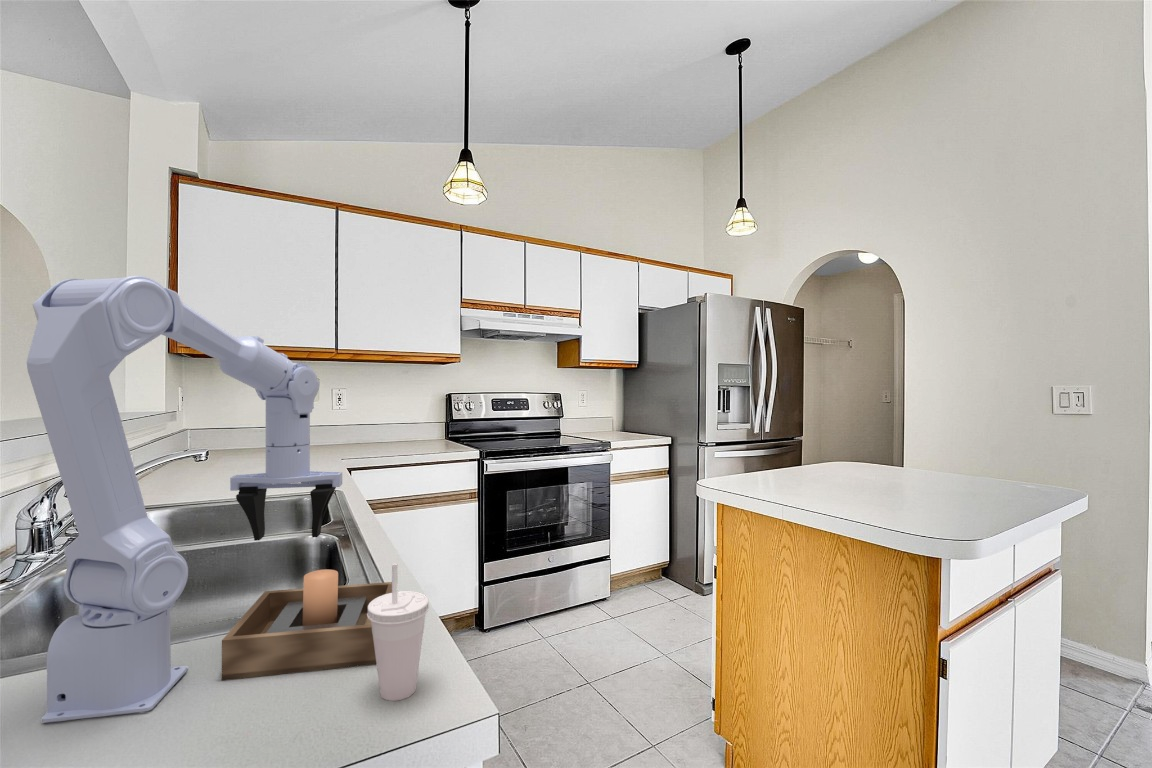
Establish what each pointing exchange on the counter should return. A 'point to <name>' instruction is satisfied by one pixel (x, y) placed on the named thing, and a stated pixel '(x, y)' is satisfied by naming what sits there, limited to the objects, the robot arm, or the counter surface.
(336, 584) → the peg
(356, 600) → the socket plate
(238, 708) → the counter surface
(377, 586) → the socket box
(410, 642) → the smoothie
